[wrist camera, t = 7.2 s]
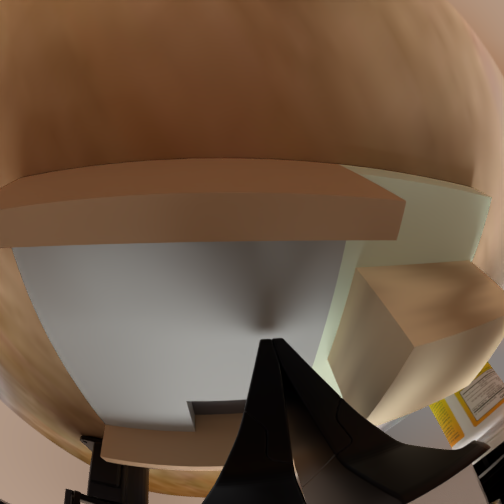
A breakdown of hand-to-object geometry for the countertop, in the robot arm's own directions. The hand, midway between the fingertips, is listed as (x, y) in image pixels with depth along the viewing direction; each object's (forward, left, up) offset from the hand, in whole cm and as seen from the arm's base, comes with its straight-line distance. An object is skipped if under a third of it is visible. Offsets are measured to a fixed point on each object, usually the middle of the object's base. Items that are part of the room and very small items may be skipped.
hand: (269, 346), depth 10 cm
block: (0, -7, -1) cm, 7 cm away
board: (-2, 0, -2) cm, 3 cm away
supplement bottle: (-7, -15, -2) cm, 17 cm away
